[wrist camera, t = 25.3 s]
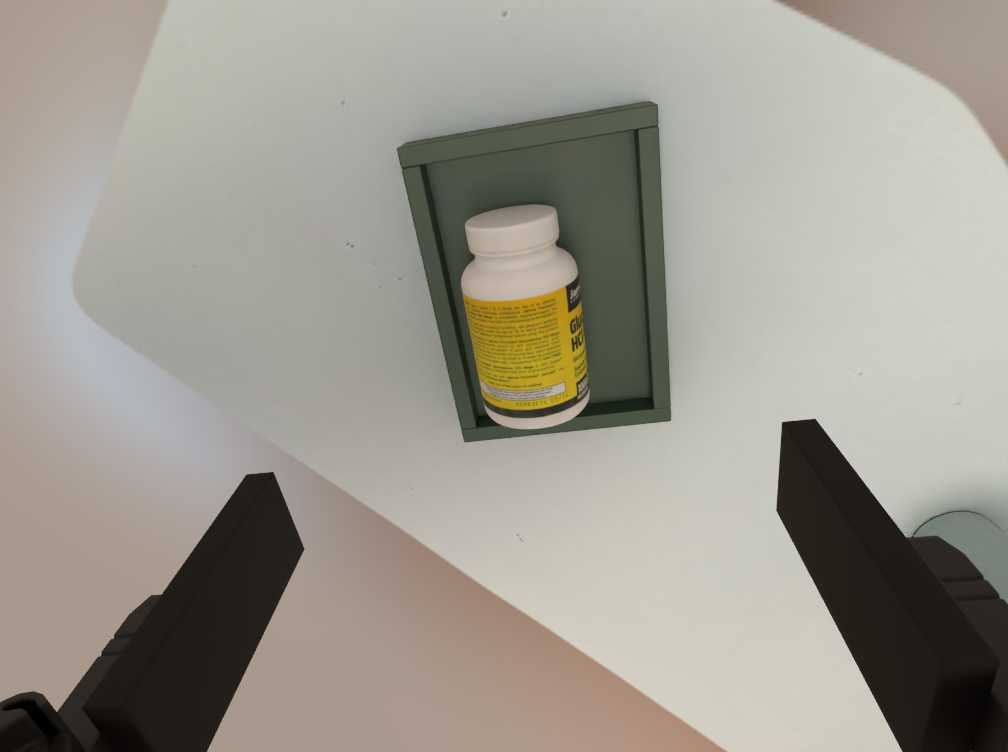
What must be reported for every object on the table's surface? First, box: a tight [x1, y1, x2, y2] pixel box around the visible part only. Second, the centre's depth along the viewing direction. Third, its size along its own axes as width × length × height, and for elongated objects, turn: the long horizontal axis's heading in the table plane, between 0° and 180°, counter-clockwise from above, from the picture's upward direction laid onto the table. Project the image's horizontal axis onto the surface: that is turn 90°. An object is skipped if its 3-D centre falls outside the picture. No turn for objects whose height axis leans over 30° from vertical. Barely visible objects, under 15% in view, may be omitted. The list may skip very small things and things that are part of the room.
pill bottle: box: [461, 204, 590, 429], centre depth 33 cm, size 6×6×11 cm
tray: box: [397, 101, 671, 442], centre depth 35 cm, size 18×13×2 cm
